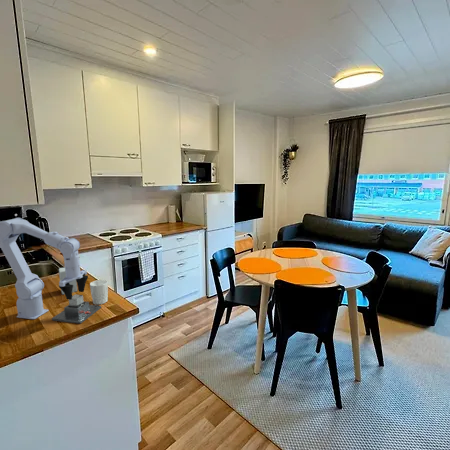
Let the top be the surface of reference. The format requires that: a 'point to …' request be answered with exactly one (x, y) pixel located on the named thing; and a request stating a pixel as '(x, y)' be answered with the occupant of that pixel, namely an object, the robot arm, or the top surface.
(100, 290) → the white cup
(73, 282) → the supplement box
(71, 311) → the gray frame
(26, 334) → the top surface
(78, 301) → the steel column
